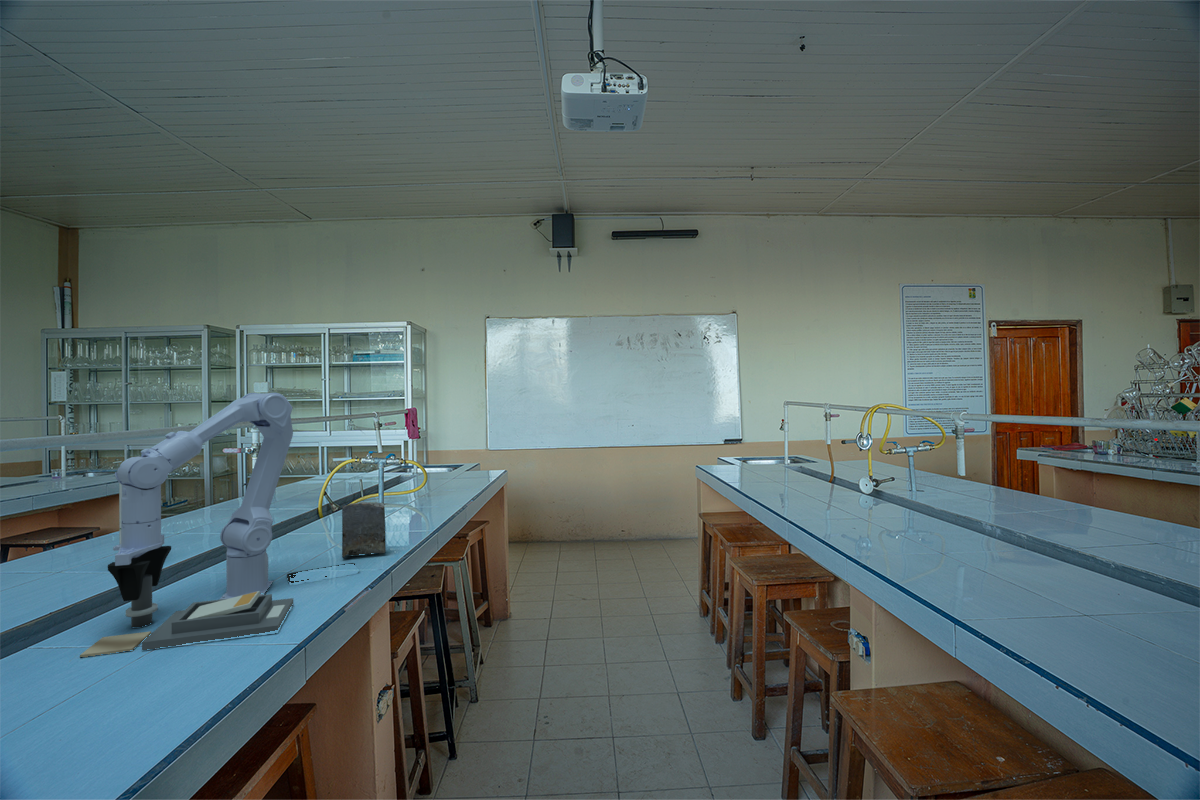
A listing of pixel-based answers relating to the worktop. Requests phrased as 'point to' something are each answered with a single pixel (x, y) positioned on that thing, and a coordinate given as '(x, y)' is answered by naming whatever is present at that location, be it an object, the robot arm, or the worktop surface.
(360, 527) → the geological specimen
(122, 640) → the pad
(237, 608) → the rocker switch
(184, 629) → the switch panel
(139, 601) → the dark round-ended cylinder
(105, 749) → the worktop surface
